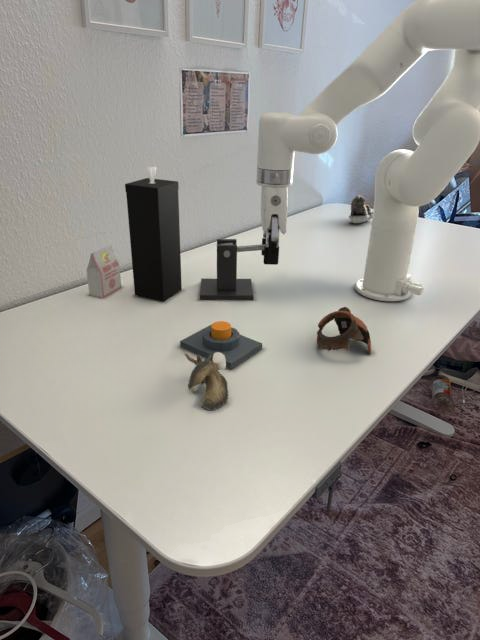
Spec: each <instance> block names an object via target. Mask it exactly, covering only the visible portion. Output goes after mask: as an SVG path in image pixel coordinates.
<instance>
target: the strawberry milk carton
mask: <svg viewBox="0 0 480 640" xmlns="http://www.w3.org/2000/svg"><path fill="white" fill-rule="evenodd" d="M114 251H115V250H114V249H113V245H110V244H109V245H107V246H105V247H103V248H100V249H98V250H95V251H93V252H92V253H91V252H90V257H89V261H88V263H87V264H88V265H87V267H86V278H87V284H88V293H89V296H92V297H96V298H101V299H104V298H105V297H107V296H110V295H111V294H113V293H114V292H116V291H118V290H120V289H121V288H122V280H121V269H120V263H119V260H118V258H117V256H116V254H115V252H114Z"/></svg>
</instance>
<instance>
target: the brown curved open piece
mask: <svg viewBox="0 0 480 640" xmlns="http://www.w3.org/2000/svg"><path fill="white" fill-rule="evenodd" d="M332 321H334V323H335V324H336V326H337V329H338V331H339V334H338V335H336V336H334V335H333V336H328V335H325V334H323V332H322V331H323V329H324V328H325V326H327V324H329V323H331V322H332ZM317 327H318V330H317V331H316V345H317V347H318V348H319V349H323V350H325V351H338V350H343V349H344V350H346V351H351V347H350V340H352V341H354V342H360V343H363V344H365V345H366V348H367V353H368V355H371V354H372V340H371V336H370V335H371V334H370V331H369V329H368V326H367V325H366V323H365V322H364V321H363V320H362V319H360V318H359V317H357V316H355V315H354V314H353V313H352V312H351V310H350V308H349V307H347V306H343V307H340V308H339V309H338V310H337V311H333V312H330V313H328V314H327V315H325V316H323V317H322V319H321V320H320V321H319V322H318V323H317Z"/></svg>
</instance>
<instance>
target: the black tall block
mask: <svg viewBox="0 0 480 640" xmlns="http://www.w3.org/2000/svg"><path fill="white" fill-rule="evenodd" d="M146 170H147V171H146V172H147V175H148V177H146V178H142V179H138V180H134V181H131V182H127V183H125V184H124V189H125V194H126V205H127V206H126V208H127V216H128V230H129V243H130V253H131V267H132V278H133V279H132V280H133V288H134V289H133V291H134V296H136V297H139V298H143V299H148V300H152V301H156V302H161V303H164V302H166V301H168V300H169V299H170V298H172V297H174V296H175V295H176V294H178V293H179V292H181V291H182V290H183V286H182V259H181V233H180V232H181V231H180V230H181V229H180V206H179V205H180V204H179V202H180V201H179V187H180V186H179V181H176V180H168V179H161V178H160V179H158V178H156V175H157V166H146Z"/></svg>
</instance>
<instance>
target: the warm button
mask: <svg viewBox="0 0 480 640" xmlns="http://www.w3.org/2000/svg"><path fill="white" fill-rule="evenodd" d="M211 324H212V325H211ZM211 324H210V325H211V336H212V338H214V339H220V340H224V339H228V338H230V337H231V327H232V324H231V323H230V322H228V321H224V320H218V321H214V322H213V323H211Z"/></svg>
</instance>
